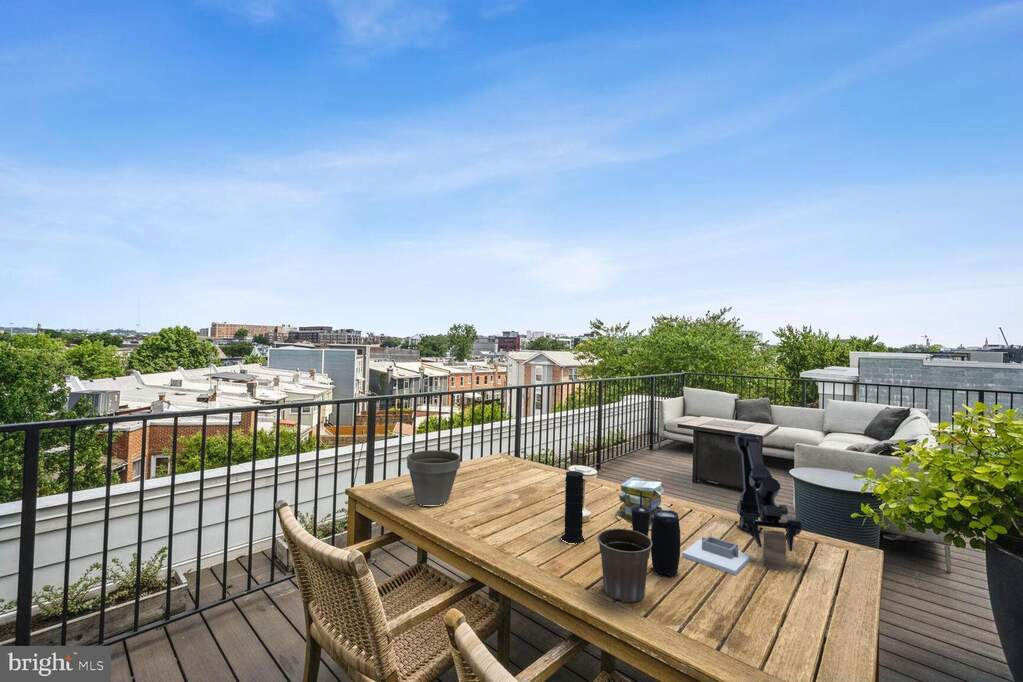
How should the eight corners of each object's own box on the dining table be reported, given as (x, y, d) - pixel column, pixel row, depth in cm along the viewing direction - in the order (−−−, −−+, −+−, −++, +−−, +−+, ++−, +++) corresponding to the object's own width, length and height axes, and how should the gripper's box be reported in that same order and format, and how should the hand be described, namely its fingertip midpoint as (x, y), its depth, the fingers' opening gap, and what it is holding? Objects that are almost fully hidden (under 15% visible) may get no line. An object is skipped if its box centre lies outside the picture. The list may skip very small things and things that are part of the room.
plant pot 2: (620, 613, 127) (621, 555, 128) (585, 585, 142) (586, 533, 142) (663, 599, 135) (664, 544, 135) (626, 574, 149) (626, 525, 149)
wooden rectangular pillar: (763, 564, 158) (763, 529, 158) (782, 566, 156) (783, 531, 156) (766, 569, 154) (767, 534, 154) (786, 572, 152) (787, 536, 153)
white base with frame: (700, 543, 174) (700, 531, 174) (750, 559, 161) (751, 546, 161) (682, 556, 162) (682, 544, 162) (735, 575, 150) (735, 561, 150)
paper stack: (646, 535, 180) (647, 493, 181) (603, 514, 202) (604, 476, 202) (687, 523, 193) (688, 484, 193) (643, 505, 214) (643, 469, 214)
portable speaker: (645, 567, 154) (646, 509, 154) (667, 563, 157) (668, 506, 157) (662, 580, 146) (663, 519, 146) (685, 575, 149) (686, 515, 149)
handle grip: (582, 547, 168) (589, 537, 177) (583, 476, 168) (590, 469, 178) (556, 542, 173) (565, 532, 182) (558, 472, 173) (566, 466, 182)
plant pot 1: (470, 500, 217) (471, 454, 217) (435, 516, 196) (436, 465, 196) (431, 490, 230) (432, 447, 230) (394, 504, 209) (395, 457, 209)
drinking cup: (651, 550, 167) (652, 495, 167) (630, 548, 169) (631, 494, 169) (649, 541, 175) (650, 489, 175) (629, 539, 176) (630, 487, 176)
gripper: (742, 492, 162) (750, 535, 151) (801, 497, 158) (813, 542, 147) (737, 506, 170) (743, 549, 159) (793, 512, 165) (804, 556, 154)
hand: (775, 548), depth 155 cm, fingers open, 9 cm apart
